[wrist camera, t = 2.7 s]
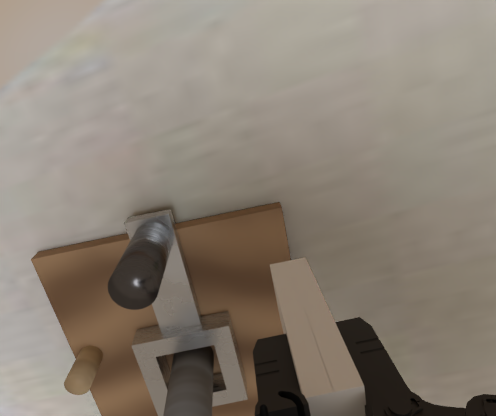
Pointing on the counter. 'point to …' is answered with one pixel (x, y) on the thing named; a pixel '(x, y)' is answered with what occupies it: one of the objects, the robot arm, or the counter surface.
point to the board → (128, 321)
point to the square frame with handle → (171, 310)
